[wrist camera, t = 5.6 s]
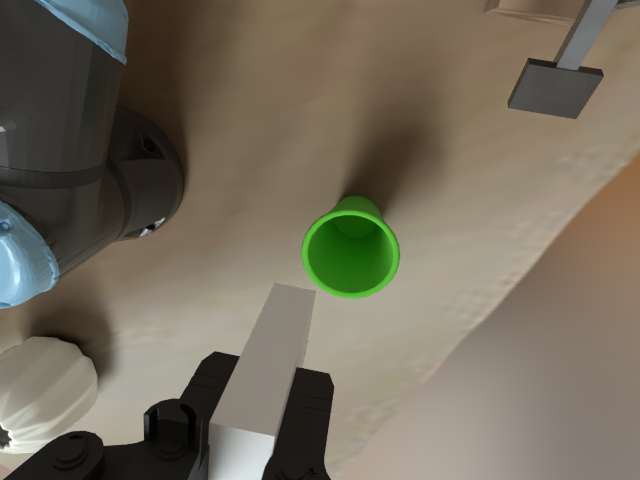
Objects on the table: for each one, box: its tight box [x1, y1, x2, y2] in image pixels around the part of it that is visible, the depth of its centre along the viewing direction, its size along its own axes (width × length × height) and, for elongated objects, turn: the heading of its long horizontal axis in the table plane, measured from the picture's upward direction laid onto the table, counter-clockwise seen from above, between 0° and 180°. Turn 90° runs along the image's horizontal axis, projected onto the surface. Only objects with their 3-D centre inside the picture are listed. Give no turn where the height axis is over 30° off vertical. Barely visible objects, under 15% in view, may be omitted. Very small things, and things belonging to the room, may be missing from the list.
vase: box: [0, 337, 98, 454], centre depth 59 cm, size 14×14×13 cm
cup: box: [302, 195, 400, 298], centre depth 46 cm, size 9×9×11 cm
